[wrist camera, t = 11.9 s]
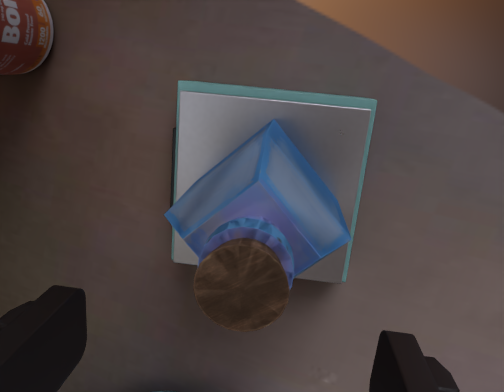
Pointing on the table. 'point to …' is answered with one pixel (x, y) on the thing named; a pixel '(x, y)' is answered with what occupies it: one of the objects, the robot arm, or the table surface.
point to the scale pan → (298, 131)
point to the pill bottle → (24, 35)
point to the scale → (278, 95)
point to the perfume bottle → (256, 229)
